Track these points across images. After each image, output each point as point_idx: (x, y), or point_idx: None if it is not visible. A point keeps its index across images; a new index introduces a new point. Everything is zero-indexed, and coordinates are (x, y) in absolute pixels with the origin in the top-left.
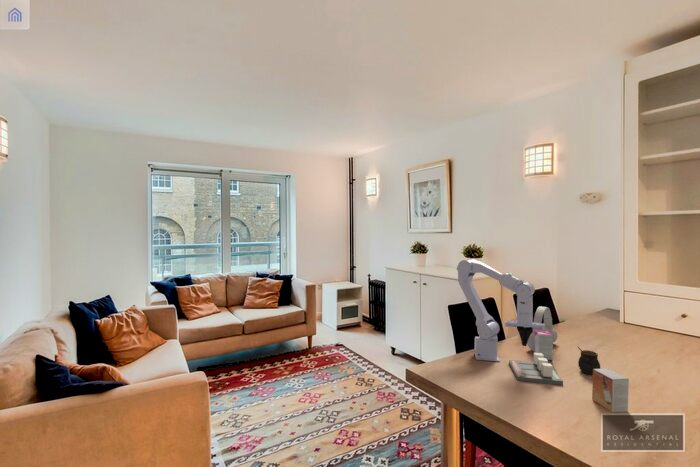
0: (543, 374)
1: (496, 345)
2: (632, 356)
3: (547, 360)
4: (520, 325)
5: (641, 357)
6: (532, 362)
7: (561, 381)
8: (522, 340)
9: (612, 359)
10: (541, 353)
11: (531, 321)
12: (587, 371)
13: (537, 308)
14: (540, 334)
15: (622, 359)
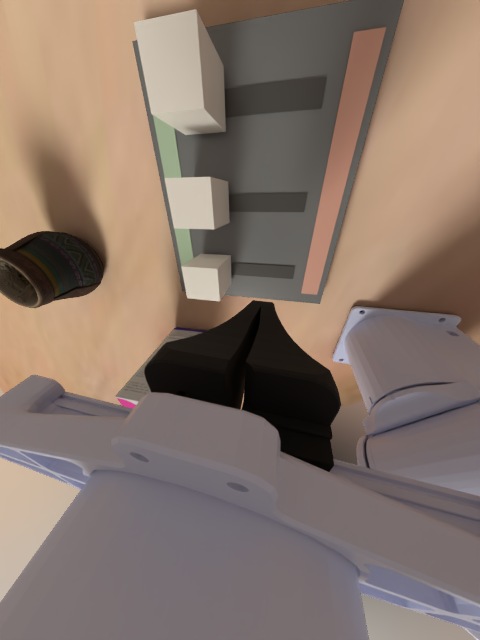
0: (220, 61)
1: (380, 363)
2: (44, 359)
3: (166, 185)
4: (335, 491)
5: (32, 355)
6: (234, 288)
7: None
8: (276, 317)
9: (65, 345)
10: (188, 294)
11: (15, 585)
12: (75, 239)
13: None
14: None
15: (52, 346)
